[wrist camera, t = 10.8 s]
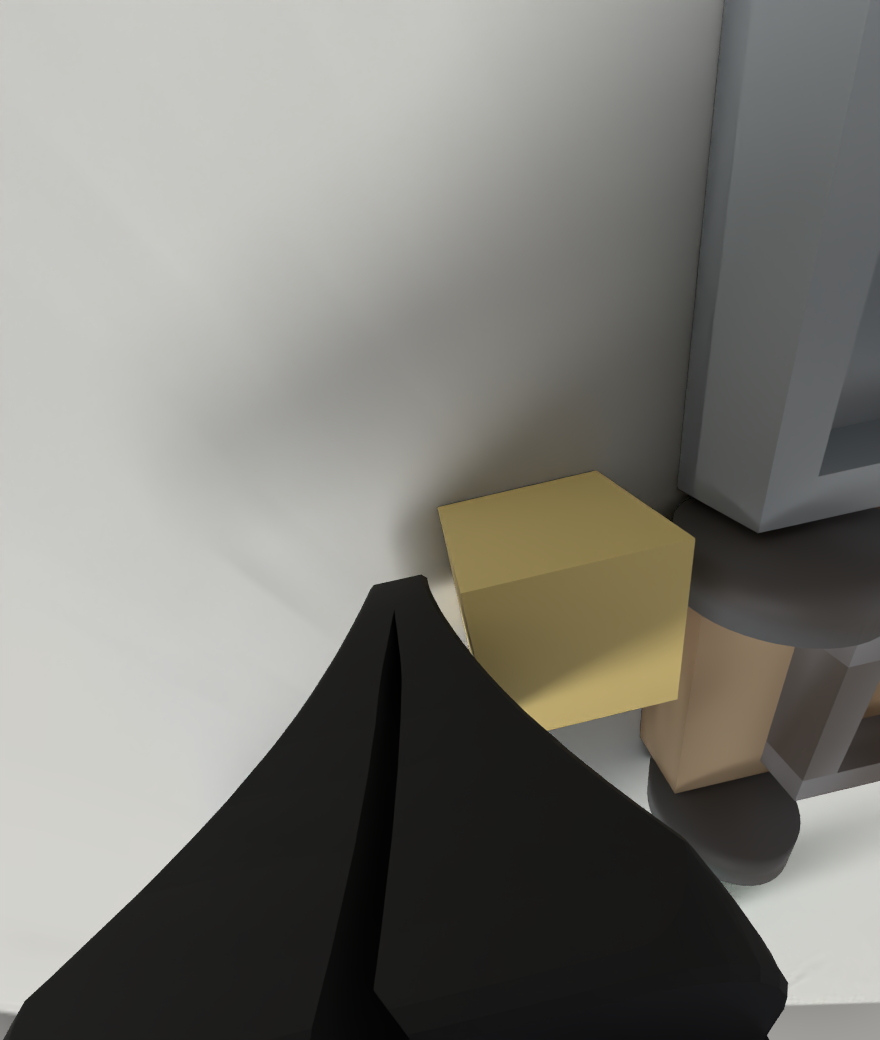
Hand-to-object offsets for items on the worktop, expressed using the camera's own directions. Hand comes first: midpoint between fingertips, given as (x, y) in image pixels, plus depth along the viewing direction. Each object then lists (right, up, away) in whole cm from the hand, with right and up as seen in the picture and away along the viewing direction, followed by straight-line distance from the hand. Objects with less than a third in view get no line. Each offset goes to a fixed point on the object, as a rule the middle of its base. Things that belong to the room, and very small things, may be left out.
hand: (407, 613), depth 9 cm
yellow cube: (+3, +1, +1) cm, 4 cm away
